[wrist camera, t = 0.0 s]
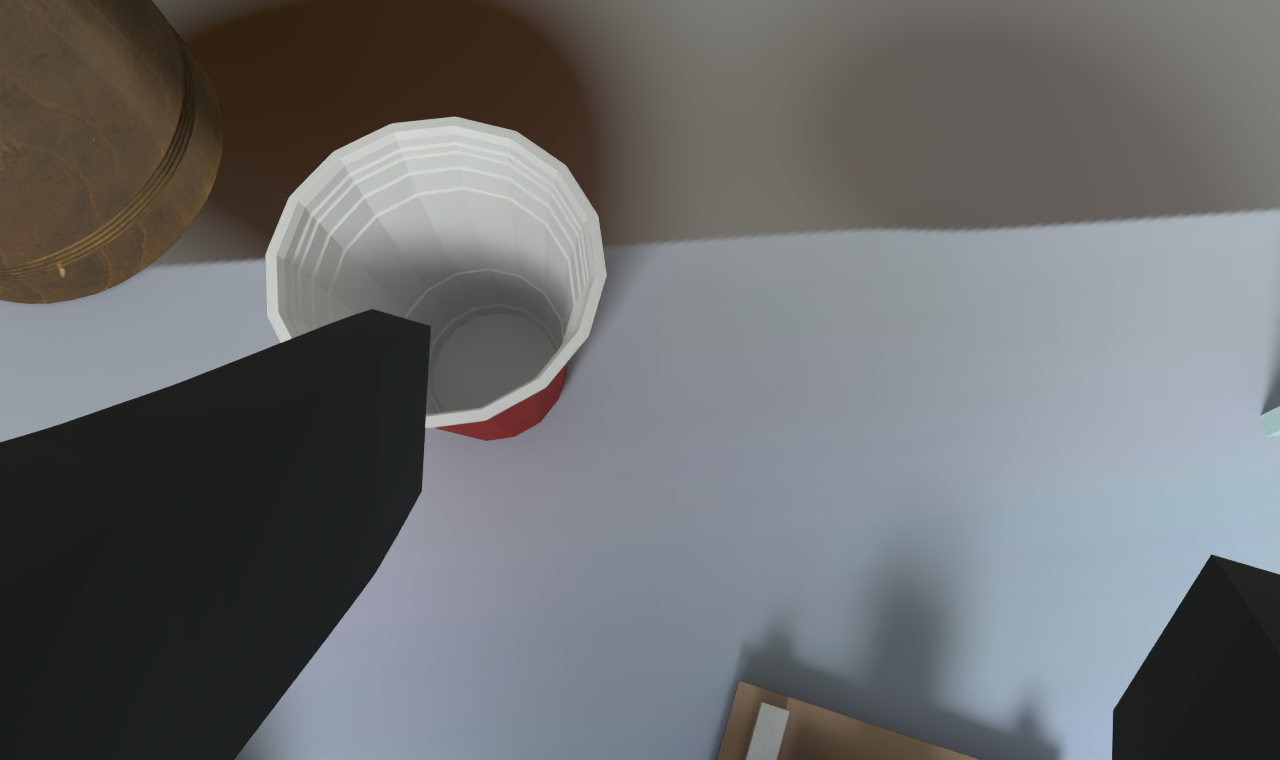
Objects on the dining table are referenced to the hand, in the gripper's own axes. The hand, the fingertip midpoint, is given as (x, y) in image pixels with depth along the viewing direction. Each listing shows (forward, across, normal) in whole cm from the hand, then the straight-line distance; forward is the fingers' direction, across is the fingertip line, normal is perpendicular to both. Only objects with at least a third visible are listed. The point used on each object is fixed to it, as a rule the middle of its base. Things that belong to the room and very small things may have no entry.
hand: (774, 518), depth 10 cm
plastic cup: (+28, +12, +19) cm, 36 cm away
